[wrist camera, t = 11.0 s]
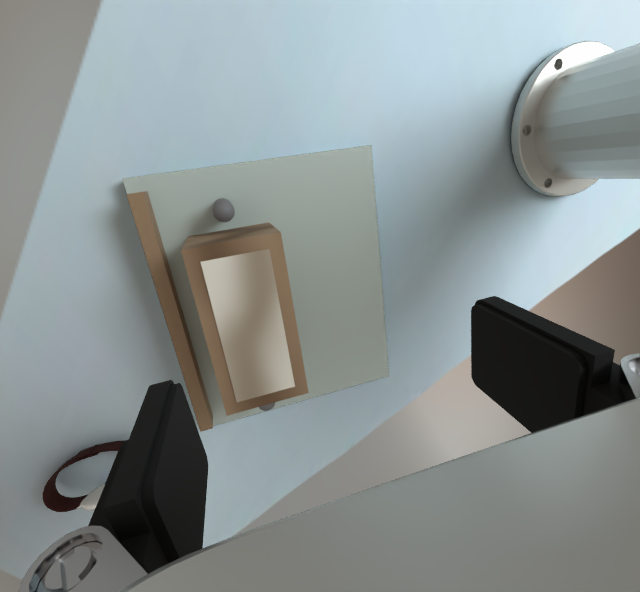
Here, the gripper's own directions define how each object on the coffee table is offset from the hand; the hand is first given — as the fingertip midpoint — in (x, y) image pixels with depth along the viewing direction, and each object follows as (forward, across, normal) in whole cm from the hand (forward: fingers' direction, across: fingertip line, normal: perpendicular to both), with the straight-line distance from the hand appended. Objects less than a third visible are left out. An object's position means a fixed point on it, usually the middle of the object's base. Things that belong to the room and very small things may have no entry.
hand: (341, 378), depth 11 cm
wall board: (+20, 0, +4) cm, 20 cm away
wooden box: (+18, +3, +3) cm, 19 cm away
